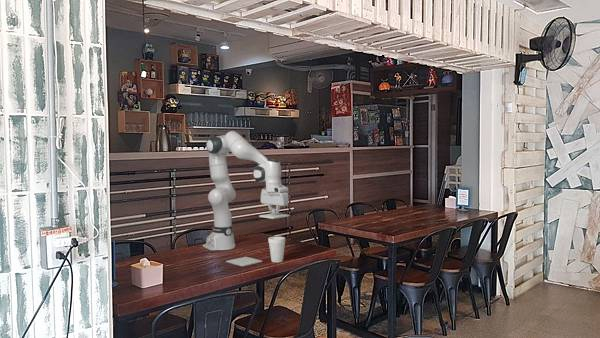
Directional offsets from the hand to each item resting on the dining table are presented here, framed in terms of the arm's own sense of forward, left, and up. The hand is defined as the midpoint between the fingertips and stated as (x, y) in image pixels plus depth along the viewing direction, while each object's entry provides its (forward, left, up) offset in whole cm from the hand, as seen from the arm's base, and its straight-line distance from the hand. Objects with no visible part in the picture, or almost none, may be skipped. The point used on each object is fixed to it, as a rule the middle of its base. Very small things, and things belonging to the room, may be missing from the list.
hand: (274, 212), depth 275 cm
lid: (0, 0, -2) cm, 2 cm away
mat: (-12, -13, -27) cm, 32 cm away
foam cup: (0, +1, -28) cm, 28 cm away
